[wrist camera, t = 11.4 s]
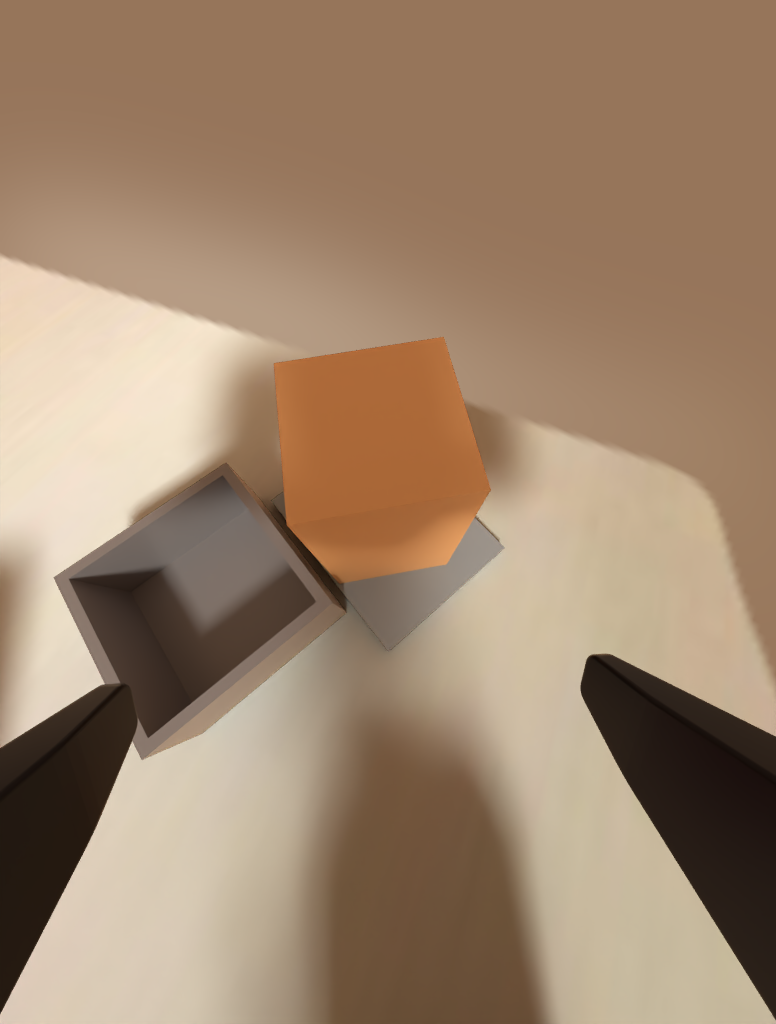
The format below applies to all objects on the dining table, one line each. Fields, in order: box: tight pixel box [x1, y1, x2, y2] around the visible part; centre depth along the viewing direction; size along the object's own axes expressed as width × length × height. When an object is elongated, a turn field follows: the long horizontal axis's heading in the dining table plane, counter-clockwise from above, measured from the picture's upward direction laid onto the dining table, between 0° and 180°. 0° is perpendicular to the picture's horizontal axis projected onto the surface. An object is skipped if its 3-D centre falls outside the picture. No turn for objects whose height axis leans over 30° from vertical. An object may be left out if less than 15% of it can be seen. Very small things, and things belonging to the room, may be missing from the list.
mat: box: [271, 492, 504, 652], centre depth 21 cm, size 11×8×1 cm
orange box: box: [274, 337, 491, 584], centre depth 16 cm, size 6×6×10 cm
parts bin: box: [54, 463, 346, 760], centre depth 18 cm, size 9×9×4 cm
